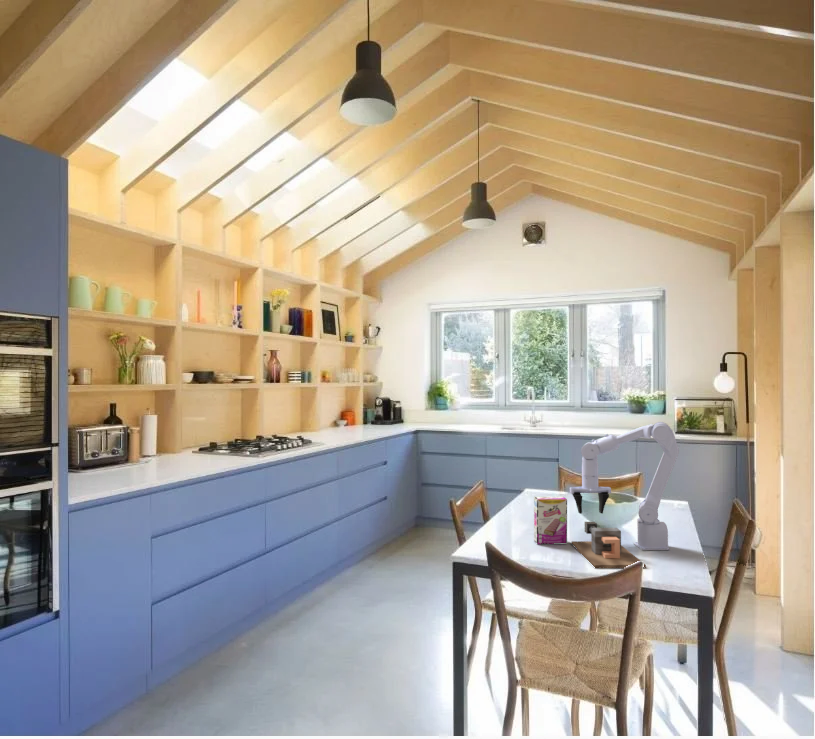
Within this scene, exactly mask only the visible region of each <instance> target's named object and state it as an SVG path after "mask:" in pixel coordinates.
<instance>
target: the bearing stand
mask: <svg viewBox="0 0 815 739" xmlns="http://www.w3.org/2000/svg"><path fill="white" fill-rule="evenodd" d="M590 536H591V537H590V538H591V540H589V541H588V540H587V541H586V540H583V541H577V540H576V541H573V540H572V541H571V545H572V544H573V545H574V546H575V547H576V548H577V549H576V548H575V547H574V546H573V545H572V546H573V547H574V548H575V549H576V551H577V552H579V553H580V554H582V555H583V556H584V557H585V558H586V559H587V560H588V561H589V562H590V563H591V564H592V565H593V566H594V567H595V568H594V567H593V566H592V565H591V564H590V563H589V562H588V561H587V560H586V559H585V558H584V557H583V556H582V555H581V556H582V557H583V558H584V559H585V560H586V561H587V562H588V563H589V564H590V565H591V566H592V567H593V568H594V569H625V568H624V567H626V566H628V565H631V564H633V563H635V562H637V561H641V559H639V558H638V557H637V556H636V555H635V554H633V553H632V552H631V551H629V550H628V549H627V548H625V547H624V546H623V545H622V530H620V529H619V528H618V527H597V528H591V535H590ZM601 537H617V538H618V539H620V558H604V557H603V556H602V551H611V543H603V541H602V540H601ZM644 567H645V568H644V569H647V565H646V564H645V563H644Z"/></svg>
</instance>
